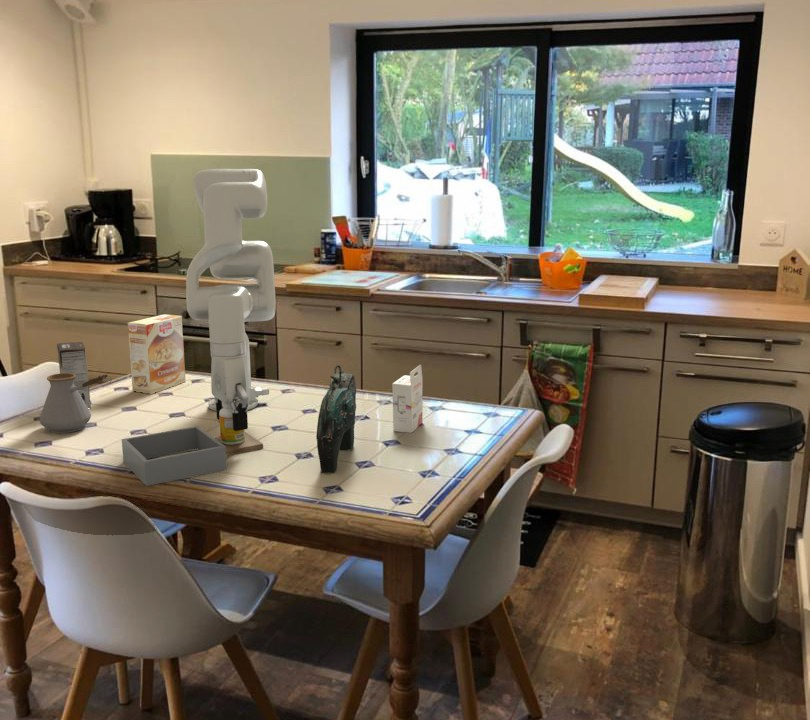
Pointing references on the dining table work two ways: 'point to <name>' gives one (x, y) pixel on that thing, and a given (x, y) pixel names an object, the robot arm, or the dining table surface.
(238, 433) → the supplement bottle
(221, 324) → the robot arm
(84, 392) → the coffee box
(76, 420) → the coffee pot
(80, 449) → the dining table surface
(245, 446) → the walnut board
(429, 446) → the dining table surface
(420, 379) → the ink cartridge box
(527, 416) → the dining table surface
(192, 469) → the bin
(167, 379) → the coffeecake box
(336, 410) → the green animal figurine
